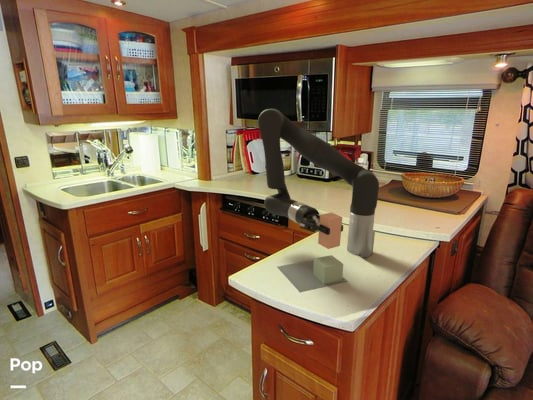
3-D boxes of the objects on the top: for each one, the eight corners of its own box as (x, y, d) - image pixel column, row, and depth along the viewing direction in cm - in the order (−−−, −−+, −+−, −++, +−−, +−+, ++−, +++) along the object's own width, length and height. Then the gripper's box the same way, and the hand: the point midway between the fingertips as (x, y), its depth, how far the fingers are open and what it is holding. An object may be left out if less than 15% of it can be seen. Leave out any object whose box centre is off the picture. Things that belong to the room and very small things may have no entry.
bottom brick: (330, 270, 120) (331, 255, 118) (342, 280, 114) (343, 263, 112) (313, 274, 118) (314, 258, 116) (323, 284, 111) (324, 267, 110)
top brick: (329, 240, 116) (331, 212, 113) (339, 245, 112) (342, 216, 109) (318, 243, 113) (319, 214, 110) (328, 249, 109) (330, 219, 106)
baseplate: (320, 261, 129) (320, 258, 129) (348, 284, 113) (348, 281, 113) (276, 269, 123) (276, 266, 123) (299, 294, 107) (299, 292, 107)
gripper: (287, 207, 118) (319, 223, 104) (319, 201, 125) (353, 215, 111) (286, 228, 120) (317, 245, 106) (317, 221, 127) (351, 236, 113)
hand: (335, 230), depth 109 cm, fingers closed on top brick, 5 cm apart
